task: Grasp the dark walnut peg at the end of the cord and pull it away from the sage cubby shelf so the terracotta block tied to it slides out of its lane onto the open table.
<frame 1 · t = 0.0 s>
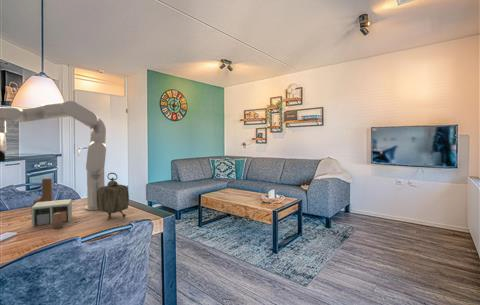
tabletop clock: (112, 217, 132), on the table
cubby shelf: (53, 220, 127), on the table
corded block: (61, 220, 128), on the table
plain block: (44, 222, 124), resting in cubby shelf
wooden block: (43, 206, 156), on the table
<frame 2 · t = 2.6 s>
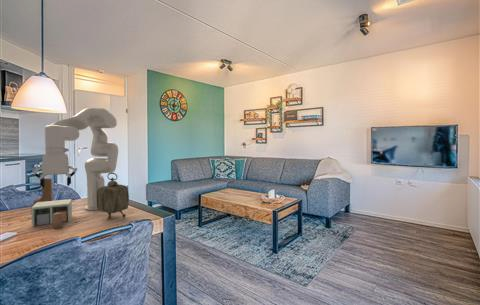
hand: (56, 186, 116), 20 cm above the table, fingers open, 9 cm apart
nothing on the table moved.
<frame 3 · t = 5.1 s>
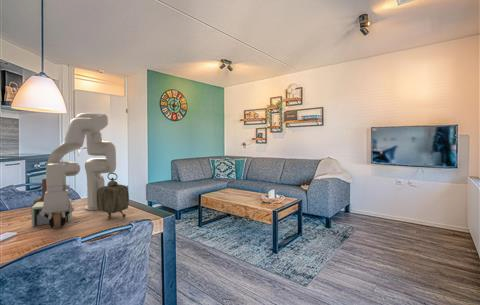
hand: (57, 225, 116), 1 cm above the table, fingers closed on corded block, 3 cm apart
corded block: (61, 220, 128), on the table, touching gripper
everything else where it was.
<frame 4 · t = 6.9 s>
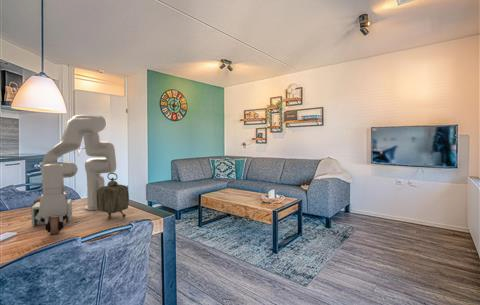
hand: (54, 230, 109), 1 cm above the table, fingers closed on corded block, 3 cm apart
corded block: (59, 224, 120), on the table, touching gripper
everything else where it was.
when the fingers open (1 cm above the table, at t = 8.7 s): corded block stays where it is, on the table.
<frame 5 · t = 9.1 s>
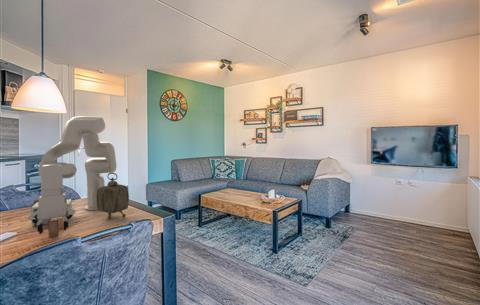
hand: (53, 231, 106), 2 cm above the table, fingers open, 8 cm apart
corded block: (58, 227, 117), on the table
everything else where it was.
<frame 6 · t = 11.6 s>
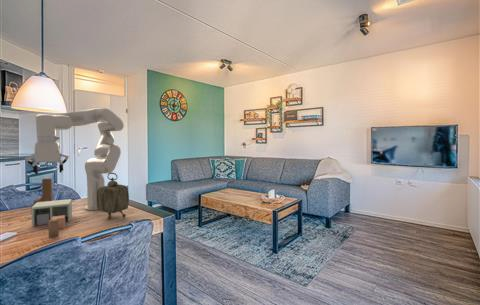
hand: (49, 173, 121), 26 cm above the table, fingers open, 9 cm apart
nothing on the table moved.
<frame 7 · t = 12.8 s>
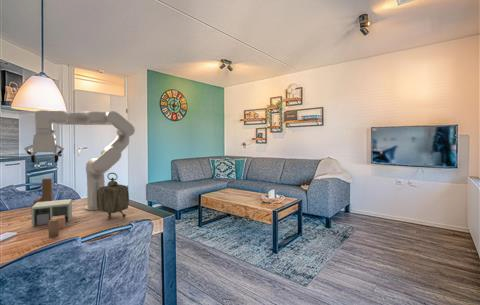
hand: (45, 162, 134), 30 cm above the table, fingers open, 9 cm apart
nothing on the table moved.
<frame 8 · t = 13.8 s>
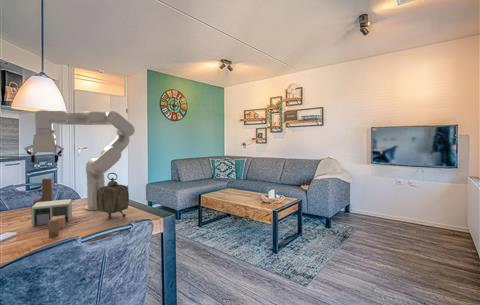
hand: (45, 162, 134), 30 cm above the table, fingers open, 9 cm apart
nothing on the table moved.
at the end: corded block inside the target area (8.1 cm from its centre), on the table; the gripper is holding nothing; plain block moved 0.1 cm from its start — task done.
